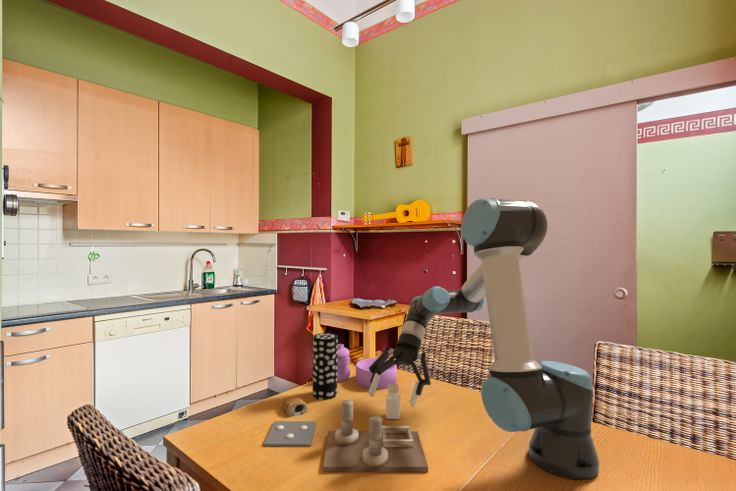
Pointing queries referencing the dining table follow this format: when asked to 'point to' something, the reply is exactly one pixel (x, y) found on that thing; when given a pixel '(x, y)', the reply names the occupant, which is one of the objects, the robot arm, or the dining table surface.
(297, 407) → the pastry
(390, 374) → the container set
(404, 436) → the pin board
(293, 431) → the tile
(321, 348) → the spotted tube
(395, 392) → the pepper shaker
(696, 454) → the dining table surface
